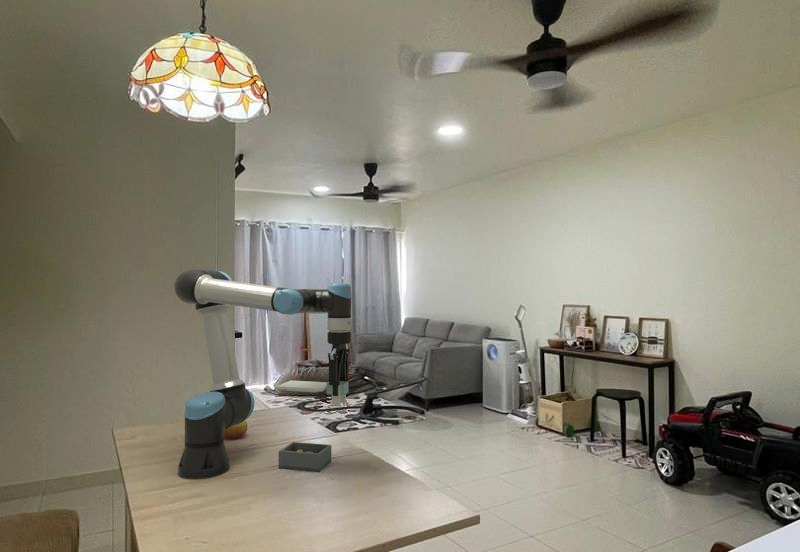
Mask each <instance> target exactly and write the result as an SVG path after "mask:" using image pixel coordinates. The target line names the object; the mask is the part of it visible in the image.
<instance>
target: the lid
mask: <svg viewBox="0 0 800 552" xmlns="http://www.w3.org/2000/svg"><path fill="white" fill-rule="evenodd" d="M339 385H341V395H345V394H346V395H347V394H349V381H340V384H339ZM275 389H276V390H285V392H287V391H288V392H302V393H304V392H305V393H320V392H324V391H326V395H332V385H329V381H327V382H325V381H324V382H323V381H322V382H321V381H307V380H306V381H305V380H288V381H286V382H283V383H281V384H278V385H276V386H275Z"/></svg>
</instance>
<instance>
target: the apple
mask: <svg viewBox="0 0 800 552" xmlns="http://www.w3.org/2000/svg"><path fill="white" fill-rule="evenodd" d="M247 431H248V423H247V419H246V420H244V421H243V422H241V423H240V424H236V425H234V426H231V427H229V428H227V429H225V430H224V439H227V440H237V439H240V438H242V437H243V436H245V434H246V432H247Z"/></svg>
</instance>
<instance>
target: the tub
mask: <svg viewBox="0 0 800 552" xmlns="http://www.w3.org/2000/svg"><path fill="white" fill-rule="evenodd" d="M331 463H332V444H323V443H313V442H312V443H311V442H298V441H292V442H290V443H289V444H287V445H286V446H285V447H283V448H281V449H280V450H278V469H281V470H289V471H301V472H310V473H311V472H312V473H320V472H322V471H323V470H324V469H326V467H328V466H329V464H331Z"/></svg>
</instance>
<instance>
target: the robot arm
mask: <svg viewBox="0 0 800 552" xmlns="http://www.w3.org/2000/svg"><path fill="white" fill-rule="evenodd" d="M173 287H174V293H175V296H176V297H177V298H178V299H179V300H180V301H182V303H186V304H190V305H195V312H196V313H198V314H200V315H201V318H202V324H203V331H204V337H205V342H206V349H207V354H208V360H209V366H210V371H211V378H212V386H211V387H210V388H209V391H207V392H206V391H205V392H204V393H197V394H195V395H192V396H190V397H189V398H188V399H187V400H186V402H185V408H184V412H183V413H184V448H183V452H182V454H181V457H180V461H179V463H178V467H177V474H178V476H179V477H181V478H184V479H191V480H192V479H193V480H196V479H197V480H198V479H208V478H213V477H216V476H219V475H221V474H225V473H227V472H228V471H229V470H230V467H231V465H230V464H231V460H230V458H229V455H228V452H227V448H226V444H225V437H224V430H225V429H227V428H229V427H231V426H234V425H236V424H240V423H241V422H243V421H244V420H246V421H247V420H248V418H250V416H252V414H253V411H254V409H255V398H254V395H253V393H252V392H251V391H250V390H249V388H247V387H246V383H245V381H244V380H243V379H241V378H240V375H239V369H238V363H237V357H236V352H235V347H234V346H235V345H234V339H233V335H232V330H231V323H230V318H229V317H230V316H229V309H230V308H231V306H235V307H243V308H248V309H249V308H250V309H257V310H264V311H270V312H278V313H279V314H281V315H286V316H287V315H291V316H293V315H296V314H306V313H307V314H309V313H327V330H328V332H327V343H328V344H329V345H332V346H331V352H328V354H327V357H328V382H329V385H332V394H331V407H341V405H342V404H346V402H347V401H346V400H347V396H346V395H347V394H345V395H341V385H339V384H340V381H348V382H349V380H350V379H349V373H350V372H349V368H350V367H349V365H350V364H349V363H350V361H349V360H350V348H347V345H348V344H349V345H350V344H351V343H352V332H351V329H352V324H353V320H352V287H351V284H349V283H341V282H339V283H338V282H337V283H336V282H335V283H334V282H333V283H331V282H330V283H328V284H327V288H326V289H325V288H324V289H313V288H299V289H297V288H287V287H286V288H285V287H279V286H270V285H263V284H258V283H257V284H255V283H249V282H240V281H233V279H232V278H231V276H229V274H227V273H226V272H223V271H220V270H215V269H210V270H209V269H194V268H193V269H188V270H184V271H183V272H181V273H180V274H179V275H177V277H176V278H175V282H174V286H173Z"/></svg>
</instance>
